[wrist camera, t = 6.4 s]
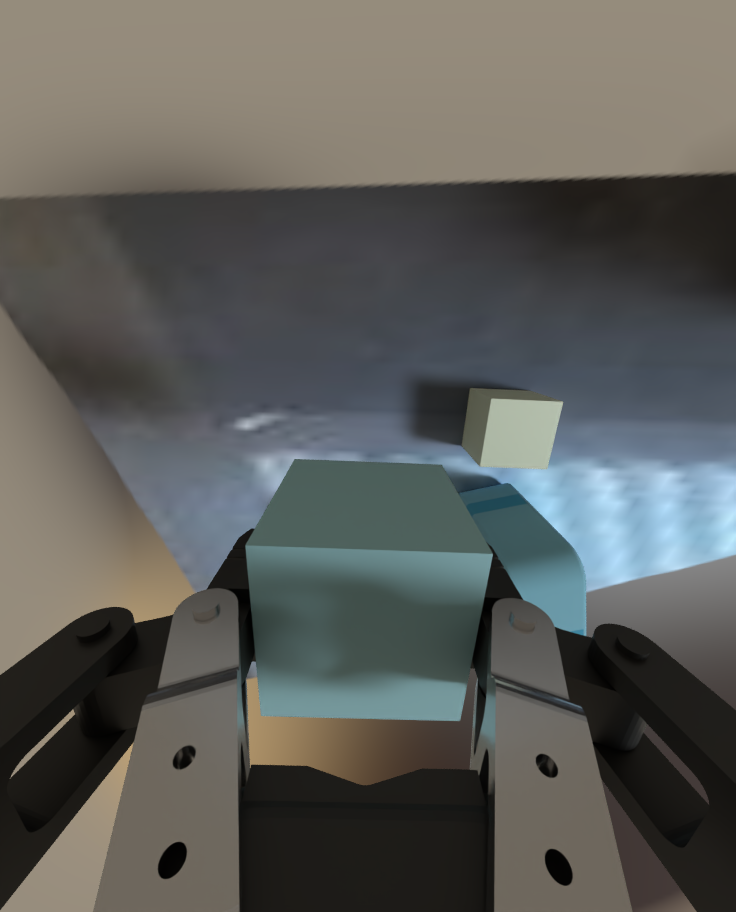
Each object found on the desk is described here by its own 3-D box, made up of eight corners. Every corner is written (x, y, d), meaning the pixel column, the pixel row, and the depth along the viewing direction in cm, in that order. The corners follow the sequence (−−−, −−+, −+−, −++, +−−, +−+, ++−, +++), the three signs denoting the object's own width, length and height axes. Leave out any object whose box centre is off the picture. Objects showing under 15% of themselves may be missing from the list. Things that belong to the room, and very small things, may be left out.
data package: (455, 486, 31) (508, 574, 20) (505, 476, 31) (588, 559, 19) (470, 590, 35) (522, 713, 24) (514, 582, 35) (588, 703, 23)
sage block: (469, 387, 28) (491, 398, 23) (529, 390, 28) (563, 401, 23) (461, 445, 30) (479, 466, 25) (517, 447, 30) (547, 469, 25)
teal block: (294, 459, 12) (245, 545, 7) (441, 465, 12) (493, 554, 7) (298, 579, 13) (261, 716, 8) (426, 584, 13) (459, 721, 9)
